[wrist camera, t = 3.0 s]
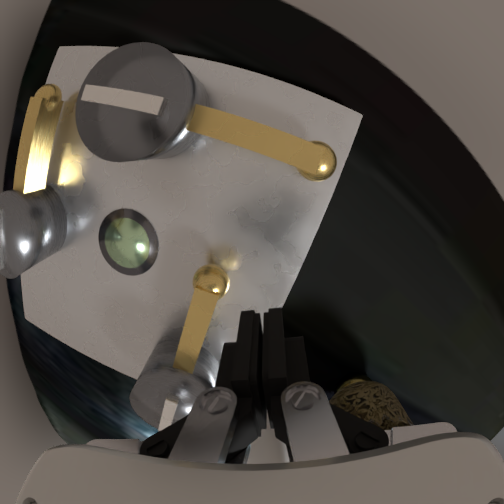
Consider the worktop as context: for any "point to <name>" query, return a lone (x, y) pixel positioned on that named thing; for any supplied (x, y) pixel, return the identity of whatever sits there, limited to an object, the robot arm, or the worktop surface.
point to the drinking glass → (267, 448)
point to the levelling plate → (178, 219)
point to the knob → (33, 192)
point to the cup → (370, 402)
